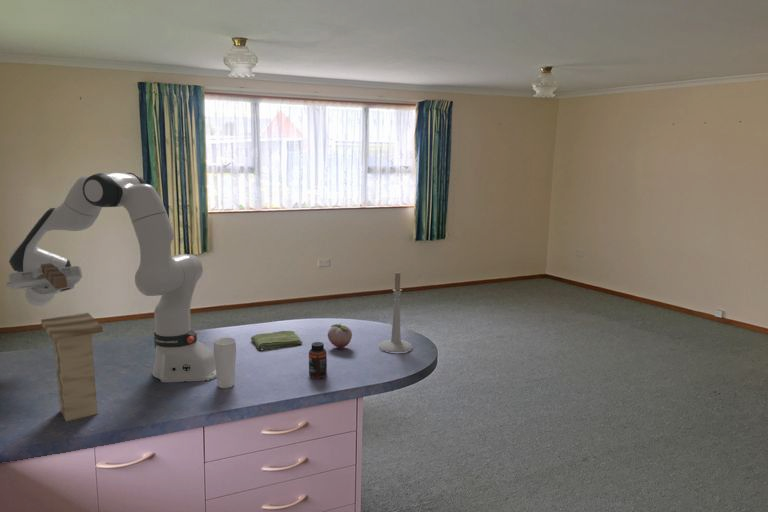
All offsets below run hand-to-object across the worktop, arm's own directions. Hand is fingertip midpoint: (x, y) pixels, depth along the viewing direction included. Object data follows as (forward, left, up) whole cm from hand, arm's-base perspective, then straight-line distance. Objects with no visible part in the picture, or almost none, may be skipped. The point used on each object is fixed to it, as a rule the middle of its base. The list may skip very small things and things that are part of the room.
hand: (48, 269), depth 181 cm
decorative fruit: (-87, -36, -37) cm, 101 cm away
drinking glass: (-54, +1, -37) cm, 65 cm away
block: (-5, +6, -2) cm, 7 cm away
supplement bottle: (-82, -9, -37) cm, 90 cm away
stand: (-18, +22, -36) cm, 46 cm away
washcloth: (-62, -40, -37) cm, 83 cm away
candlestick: (-108, -38, -37) cm, 120 cm away
